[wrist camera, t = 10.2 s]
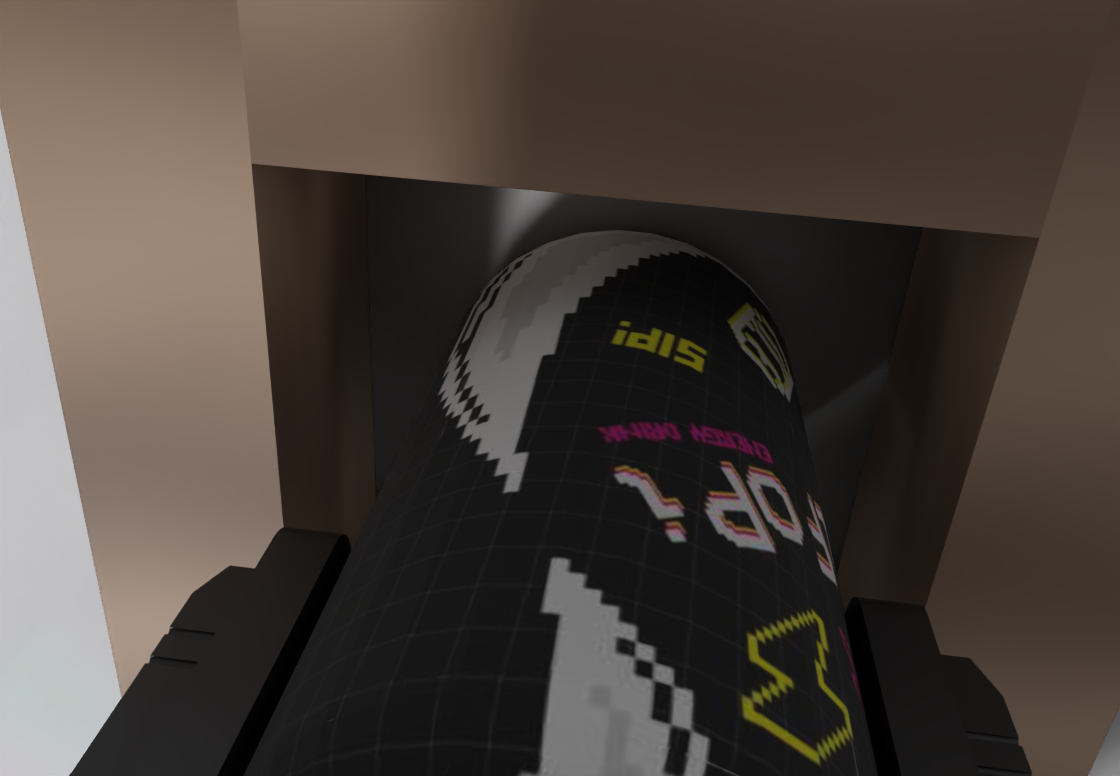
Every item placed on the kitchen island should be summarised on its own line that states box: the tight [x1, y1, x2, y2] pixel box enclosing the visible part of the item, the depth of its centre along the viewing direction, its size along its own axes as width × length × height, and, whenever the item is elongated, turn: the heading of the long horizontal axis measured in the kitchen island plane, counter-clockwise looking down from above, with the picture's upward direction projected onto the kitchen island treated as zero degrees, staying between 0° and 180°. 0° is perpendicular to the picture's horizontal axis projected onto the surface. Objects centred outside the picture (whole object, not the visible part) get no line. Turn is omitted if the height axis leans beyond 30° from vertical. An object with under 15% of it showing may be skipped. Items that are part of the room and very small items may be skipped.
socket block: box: [0, 0, 1120, 776], centre depth 15 cm, size 15×15×4 cm
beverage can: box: [244, 230, 879, 776], centre depth 12 cm, size 6×6×12 cm
